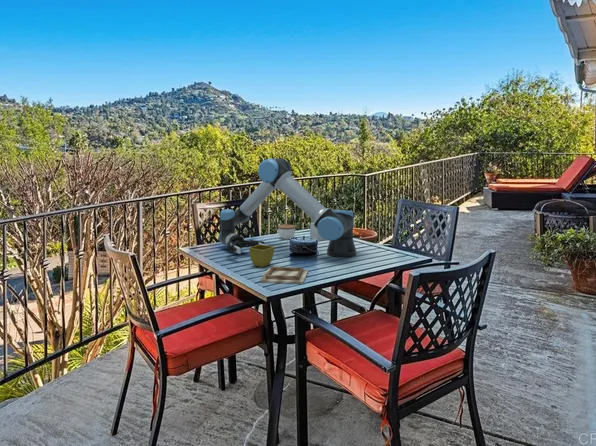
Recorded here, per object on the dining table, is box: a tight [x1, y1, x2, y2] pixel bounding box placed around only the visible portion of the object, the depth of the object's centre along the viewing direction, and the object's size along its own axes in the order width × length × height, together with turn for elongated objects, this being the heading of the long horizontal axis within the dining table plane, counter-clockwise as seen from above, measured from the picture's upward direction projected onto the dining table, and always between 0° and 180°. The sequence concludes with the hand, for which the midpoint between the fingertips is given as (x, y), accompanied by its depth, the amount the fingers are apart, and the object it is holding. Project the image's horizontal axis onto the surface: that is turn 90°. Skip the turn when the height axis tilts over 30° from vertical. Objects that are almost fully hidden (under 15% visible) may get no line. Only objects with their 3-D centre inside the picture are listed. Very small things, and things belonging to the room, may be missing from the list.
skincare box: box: [309, 221, 326, 242], centre depth 269 cm, size 10×6×10 cm, turn 137°
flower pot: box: [248, 244, 275, 268], centre depth 210 cm, size 9×9×9 cm
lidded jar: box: [277, 222, 296, 241], centre depth 272 cm, size 11×11×9 cm
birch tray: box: [259, 266, 309, 285], centre depth 192 cm, size 18×18×2 cm
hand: (252, 249), depth 218 cm, fingers open, 13 cm apart
